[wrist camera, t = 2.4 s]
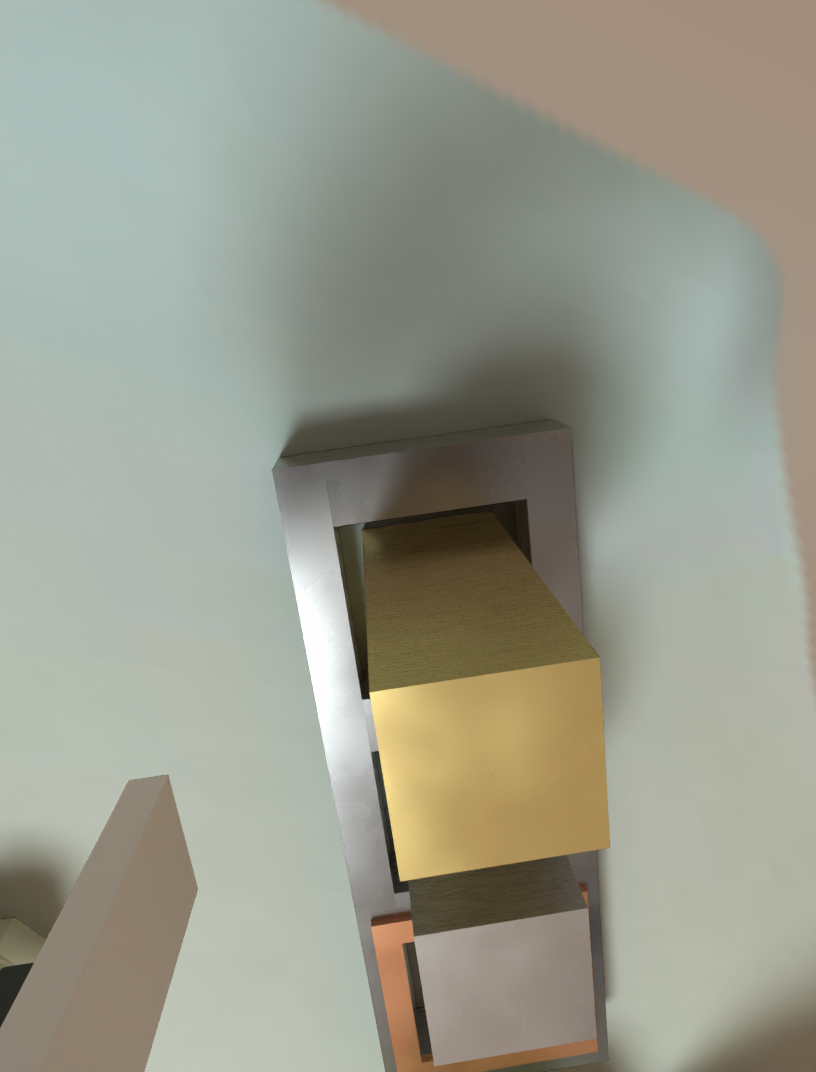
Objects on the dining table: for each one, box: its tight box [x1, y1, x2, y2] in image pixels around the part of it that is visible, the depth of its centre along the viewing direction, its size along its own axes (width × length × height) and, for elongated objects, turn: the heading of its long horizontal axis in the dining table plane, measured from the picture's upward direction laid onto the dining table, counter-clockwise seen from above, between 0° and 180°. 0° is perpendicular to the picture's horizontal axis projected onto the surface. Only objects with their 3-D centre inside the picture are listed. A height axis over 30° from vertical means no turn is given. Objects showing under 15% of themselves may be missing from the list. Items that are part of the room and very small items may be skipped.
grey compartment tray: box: [272, 419, 609, 1072], centre depth 26 cm, size 26×9×2 cm, turn 7°
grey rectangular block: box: [408, 855, 597, 1066], centre depth 23 cm, size 4×4×9 cm
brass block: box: [362, 511, 610, 881], centre depth 19 cm, size 4×4×11 cm
